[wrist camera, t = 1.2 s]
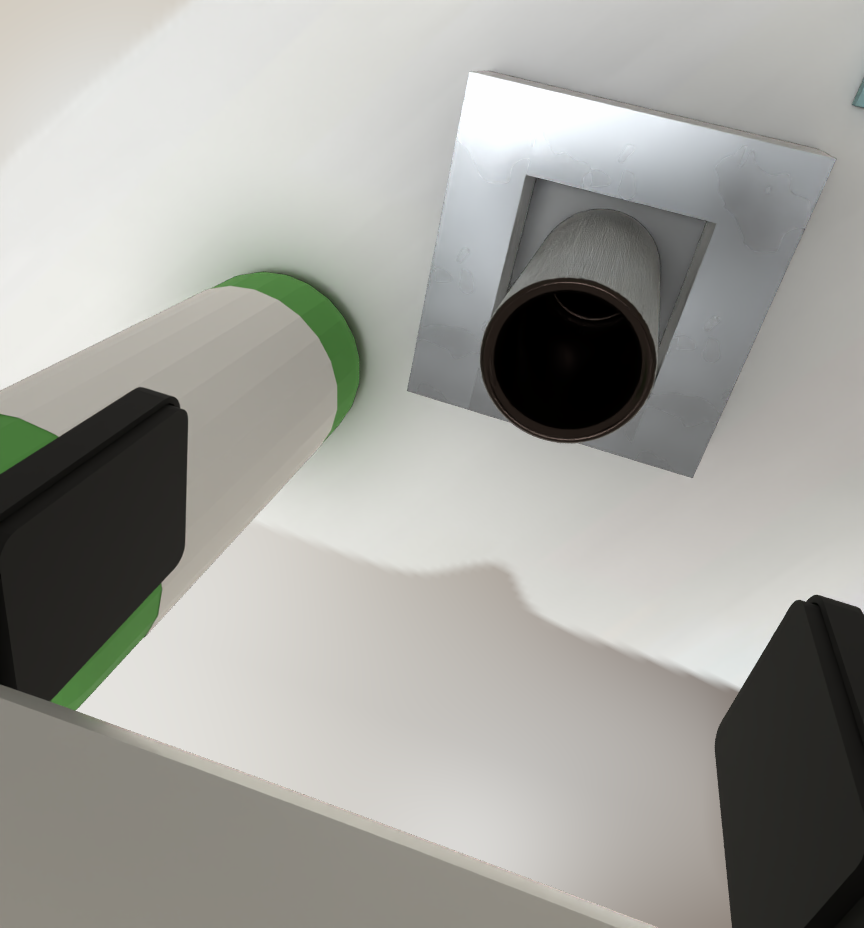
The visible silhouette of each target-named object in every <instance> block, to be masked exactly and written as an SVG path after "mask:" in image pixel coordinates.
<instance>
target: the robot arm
mask: <svg viewBox="0 0 864 928" xmlns="http://www.w3.org/2000/svg"><path fill="white" fill-rule="evenodd" d="M187 452H188V414H187V412H186V411H185V410H184V409H181V408H180V404H179V401H178V399H177V398H175V397H173V396H170V395H167V394H164V393H160V392H157V391H154V390H151V389H147V388H144V387H138V388H135V389H134V390H132V391H130V392H129V393H127V394H126V395H124V396H123V397H121V398H119V399H118V400H116V401H115V402H113V403H112V404H110V405H108V406H107V407H105V408H104V409H102V410H100V411H99V412H97V413H96V414H94V415H93V416H91V417H89V418H88V419H86V420H85V421H83V422H82V423H80V424H78V425H77V426H75V427H74V428H72V429H71V430H69V431H67V432H66V433H64V434H63V435H61V436H60V437H58V438H56V439H55V440H53V441H52V442H50V443H48V444H47V445H45V446H44V447H42V448H41V449H39V450H37V451H36V452H34V453H33V454H31V455H30V456H28V457H26V458H25V459H23V460H22V461H20V462H19V463H17V464H15V465H14V466H12V467H11V468H9V469H8V470H6V471H4V472H3V473H1V474H0V928H658V927H656V926H653V925H651V924H648V923H645V922H643V921H640V920H638V919H635V918H632V917H630V916H627V915H624V914H622V913H619V912H616V911H614V910H611V909H608V908H606V907H603V906H600V905H598V904H595V903H592V902H590V901H587V900H584V899H582V898H579V897H576V896H574V895H571V894H569V893H566V892H563V891H561V890H558V889H555V888H553V887H550V886H547V885H545V884H542V883H539V882H537V881H534V880H531V879H529V878H526V877H523V876H521V875H518V874H516V873H513V872H510V871H508V870H505V869H502V868H500V867H497V866H494V865H492V864H489V863H486V862H484V861H481V860H478V859H476V858H473V857H470V856H468V855H465V854H463V853H459V852H457V851H455V850H452V849H449V848H446V847H444V846H441V845H438V844H436V843H433V842H430V841H428V840H425V839H422V838H419V837H417V836H414V835H412V834H409V833H406V832H403V831H401V830H398V829H395V828H393V827H390V826H387V825H385V824H382V823H379V822H377V821H374V820H371V819H368V818H365V817H363V816H360V815H358V814H355V813H352V812H349V811H347V810H344V809H342V808H339V807H336V806H334V805H331V804H328V803H325V802H323V801H320V800H317V799H315V798H312V797H309V796H307V795H304V794H301V793H298V792H296V791H293V790H290V789H288V788H285V787H282V786H279V785H277V784H274V783H271V782H269V781H266V780H263V779H261V778H258V777H255V776H252V775H250V774H247V773H244V772H242V771H239V770H236V769H234V768H231V767H228V766H225V765H223V764H220V763H217V762H214V761H212V760H209V759H206V758H203V757H201V756H198V755H195V754H192V753H190V752H187V751H184V750H181V749H178V748H176V747H173V746H170V745H168V744H165V743H162V742H159V741H157V740H154V739H151V738H149V737H146V736H143V735H140V734H138V733H135V732H132V731H129V730H127V729H124V728H121V727H118V726H116V725H113V724H110V723H107V722H105V721H102V720H99V719H96V718H94V717H91V716H88V715H85V714H83V713H80V712H77V711H75V710H72V709H69V708H66V707H64V706H61V705H58V704H55V703H52V702H50V701H51V700H52V699H53V698H54V697H55V696H56V695H57V694H58V693H59V692H60V691H61V689H62V688H63V687H64V686H65V685H66V684H67V683H68V682H69V681H70V680H71V679H72V678H73V677H74V676H75V675H76V673H77V672H78V671H79V670H80V669H81V668H82V667H83V666H84V665H85V664H86V663H87V662H88V661H89V660H90V658H91V657H92V656H93V655H94V654H95V653H96V652H97V651H98V650H99V649H100V648H101V647H102V646H103V645H104V644H105V642H106V641H107V640H108V639H109V638H110V637H111V636H112V635H113V634H114V633H115V632H116V631H117V630H118V629H119V628H120V626H121V625H122V624H123V623H124V622H125V621H126V620H127V619H128V618H129V617H130V616H131V615H132V614H133V613H134V611H135V610H136V609H137V608H138V607H139V606H140V605H141V604H142V603H143V602H144V601H145V600H146V599H147V598H148V597H149V595H150V594H151V593H152V592H153V591H154V590H155V589H156V588H157V587H158V586H159V585H160V584H161V583H162V582H163V581H164V579H165V578H166V577H167V576H168V575H169V574H170V573H171V572H172V571H173V570H174V569H175V568H176V566H177V565H178V564H179V562H180V560H181V558H182V556H183V553H184V549H185V534H186V493H187ZM715 757H716V766H717V777H718V788H719V797H720V808H721V818H722V828H723V837H724V848H725V860H726V869H727V879H728V890H729V900H730V911H731V921H732V928H864V614H863V612H862V611H861V609H860V608H858V607H856V606H852V605H849V604H846V603H843V602H839V601H836V600H833V599H830V598H826V597H823V596H820V595H813V596H812V597H810V598H809V599H808V600H807V602H805V601H801V600H796V601H795V602H794V603H793V604H792V605H791V606H790V608H789V610H788V611H787V613H786V615H785V616H784V618H783V620H782V621H781V623H780V625H779V626H778V628H777V630H776V631H775V633H774V635H773V636H772V638H771V640H770V641H769V643H768V645H767V646H766V648H765V650H764V651H763V653H762V655H761V656H760V658H759V660H758V661H757V663H756V665H755V666H754V668H753V670H752V671H751V673H750V675H749V677H748V678H747V680H746V682H745V683H744V685H743V687H742V688H741V690H740V692H739V693H738V695H737V697H736V698H735V700H734V702H733V703H732V705H731V707H730V708H729V710H728V712H727V713H726V715H725V717H724V718H723V720H722V722H721V724H720V726H719V728H718V731H717V734H716V739H715Z"/></svg>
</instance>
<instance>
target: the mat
mask: <svg viewBox="0 0 864 928" xmlns="http://www.w3.org/2000/svg"><path fill="white" fill-rule="evenodd" d="M852 105H855V106H859V107H863V108H864V79H863V81H862V84H861V86H860V88H859V90H858V93H857V95H856V97H855V99H854V102H853V104H852Z"/></svg>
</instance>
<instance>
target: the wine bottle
mask: <svg viewBox="0 0 864 928" xmlns="http://www.w3.org/2000/svg"><path fill="white" fill-rule="evenodd" d="M359 362H360V360H359V356H358V351H357V347H356V343H355V339H354V336H353V334H352V333H351V331H350V329H349V327H348V325H347V323H346V321H345V319H344V317H343V316H342V315H341V313H340V312H339V311H338V310H337V309H336V307H335V306H334V305H333V304H332V303H331V301H330V300H329V299H328V298H326V297H325V296H324V295H323V294H321V293H320V292H319V291H317V290H316V289H315V288H313V287H312V286H311V285H309V284H307V283H304V282H302V281H300V280H297V279H295V278H293V277H290V276H288V275H283V274H276V273H269V272H258V273H251V274H245V275H239V276H235V277H233V278H231V279H229V280H227V281H225V282H223V283H221V284H219V285H217V286H215V287H213V288H211V289H207V290H205V291H203V292H201V293H199V294H197V295H195V296H192V297H190V298H188V299H186V300H184V301H182V302H180V303H178V304H176V305H174V306H172V307H170V308H168V309H166V310H164V311H162V312H160V313H158V314H156V315H154V316H152V317H150V318H148V319H146V320H143V321H141V322H139V323H137V324H135V325H133V326H131V327H129V328H127V329H125V330H123V331H121V332H119V333H117V334H115V335H113V336H111V337H109V338H107V339H105V340H103V341H101V342H99V343H97V344H94V345H92V346H90V347H88V348H86V349H84V350H82V351H80V352H78V353H76V354H74V355H72V356H70V357H68V358H66V359H64V360H62V361H60V362H58V363H56V364H54V365H52V366H50V367H48V368H46V369H43V370H41V371H39V372H37V373H35V374H33V375H31V376H29V377H27V378H25V379H23V380H21V381H19V382H17V383H15V384H13V385H11V386H9V387H7V388H5V389H3V390H1V391H0V474H1V473H3V472H4V471H6V470H8V469H9V468H11V467H12V466H14V465H15V464H17V463H19V462H20V461H22V460H23V459H25V458H26V457H28V456H30V455H31V454H33V453H34V452H36V451H37V450H39V449H41V448H42V447H44V446H45V445H47V444H48V443H50V442H52V441H53V440H55V439H56V438H58V437H60V436H61V435H63V434H64V433H66V432H67V431H69V430H71V429H72V428H74V427H75V426H77V425H78V424H80V423H82V422H83V421H85V420H86V419H88V418H89V417H91V416H93V415H94V414H96V413H97V412H99V411H100V410H102V409H104V408H105V407H107V406H108V405H110V404H112V403H113V402H115V401H116V400H118V399H119V398H121V397H123V396H124V395H126V394H127V393H129V392H130V391H132V390H134V389H135V388H138V387H144V388H147V389H151V390H154V391H157V392H160V393H164V394H167V395H170V396H173V397H175V398H177V399H178V401H179V404H180V408H181V409H184V410H185V411H186V412H187V414H188V452H187V493H186V534H185V549H184V553H183V556H182V558H181V560H180V562H179V564H178V565H177V566H176V568H175V569H174V570H173V571H172V572H171V573H170V574H169V575H168V576H167V577H166V578H165V579H164V581H163V582H162V583H161V584H160V585H159V586H158V587H157V588H156V589H155V590H154V591H153V592H152V593H151V594H150V595H149V597H148V598H147V599H146V600H145V601H144V602H143V603H142V604H141V605H140V606H139V607H138V608H137V609H136V610H135V611H134V613H133V614H132V615H131V616H130V617H129V618H128V619H127V620H126V621H125V622H124V623H123V624H122V625H121V626H120V628H119V629H118V630H117V631H116V632H115V633H114V634H113V635H112V636H111V637H110V638H109V639H108V640H107V641H106V642H105V644H104V645H103V646H102V647H101V648H100V649H99V650H98V651H97V652H96V653H95V654H94V655H93V656H92V657H91V658H90V660H89V661H88V662H87V663H86V664H85V665H84V666H83V667H82V668H81V669H80V670H79V671H78V672H77V673H76V675H75V676H74V677H73V678H72V679H71V680H70V681H69V682H68V683H67V684H66V685H65V686H64V687H63V688H62V689H61V691H60V692H59V693H58V694H57V695H56V696H55V697H54V698H53V699H52V700H51V701H50V702H52V703H55V704H58V705H61V706H64V707H66V708H69V709H72V710H77V709H78V708H79V707H80V705H81V704H82V703H83V702H84V701H85V700H86V699H87V698H88V697H89V696H90V695H91V694H92V693H93V692H94V691H95V690H96V688H97V687H98V686H99V685H100V684H101V683H102V682H103V681H104V680H105V679H106V678H107V677H108V675H109V674H110V673H111V672H112V671H113V670H114V669H115V668H116V667H117V665H119V664H120V662H121V661H122V660H123V659H124V658H125V657H126V656H127V655H128V654H129V653H130V652H131V650H132V649H133V648H134V647H135V646H136V645H137V644H138V643H139V642H140V641H141V640H142V638H144V637H145V636H146V635H147V634H148V633H149V632H150V631H151V630H152V629H153V628H154V627H155V626H156V625H157V623H158V622H159V621H160V620H161V619H162V618H163V617H164V616H165V615H166V614H167V612H169V610H170V609H171V608H172V607H173V606H174V605H175V604H176V603H177V602H178V600H180V598H181V597H182V596H183V595H184V594H185V593H186V592H187V591H188V590H189V589H190V588H191V586H192V585H193V584H194V583H195V582H196V581H197V580H198V579H199V577H201V576H202V575H203V573H204V572H205V571H206V570H207V569H208V568H209V567H210V566H211V565H212V564H213V563H214V561H215V560H216V559H217V558H218V557H219V556H220V555H221V554H222V553H223V552H224V550H226V548H227V547H228V546H229V545H230V544H231V543H232V542H233V541H234V540H235V539H236V538H237V536H238V535H239V534H240V533H241V532H242V531H243V530H244V529H245V528H246V527H247V526H248V525H249V523H250V522H251V521H252V520H253V519H254V518H255V517H256V516H257V515H258V514H259V513H260V511H261V510H262V509H263V508H264V507H265V506H266V505H267V504H268V503H269V502H270V501H271V500H272V498H273V497H274V496H275V495H276V494H277V493H278V492H279V491H280V490H281V489H282V488H283V486H284V485H285V484H286V483H287V482H288V481H289V480H290V479H291V478H292V477H293V476H294V474H295V473H296V472H297V471H298V470H299V469H300V468H301V467H302V466H303V465H304V464H305V463H306V461H307V460H308V459H309V458H310V457H311V456H312V455H313V454H314V453H315V452H316V451H317V449H318V448H319V447H320V446H321V444H322V443H323V442H324V441H325V440H326V439H327V438H328V436H329V435H330V434H331V433H332V432H333V431H334V430H335V429H336V428H337V427H338V426H339V424H340V423H341V421H342V420H343V418H344V417H345V415H346V414H347V412H348V411H349V409H350V408H351V406H352V404H353V402H354V398H355V395H356V392H357V388H358V385H359Z"/></svg>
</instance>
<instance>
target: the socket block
mask: <svg viewBox="0 0 864 928" xmlns="http://www.w3.org/2000/svg"><path fill="white" fill-rule="evenodd" d="M835 161H836V158H834V157H832V156H830V155H829V154H827V153H825V152H823V151H821V150H819V149H817V148H812V147H808V146H804V145H800V144H795V143H791V142H787V141H783V140H779V139H774V138H770V137H766V136H762V135H757V134H753V133H749V132H745V131H741V130H736V129H732V128H728V127H724V126H719V125H715V124H711V123H707V122H703V121H698V120H694V119H690V118H686V117H681V116H677V115H673V114H669V113H665V112H660V111H656V110H652V109H648V108H643V107H639V106H635V105H631V104H627V103H622V102H618V101H614V100H610V99H605V98H601V97H597V96H593V95H589V94H584V93H580V92H576V91H572V90H567V89H563V88H559V87H555V86H551V85H546V84H542V83H538V82H534V81H529V80H525V79H521V78H517V77H513V76H508V75H504V74H500V73H496V72H491V71H470V72H469V76H468V81H467V86H466V91H465V96H464V101H463V107H462V112H461V117H460V122H459V127H458V132H457V137H456V142H455V148H454V153H453V158H452V163H451V168H450V173H449V178H448V184H447V189H446V194H445V199H444V204H443V209H442V214H441V219H440V225H439V230H438V235H437V240H436V245H435V250H434V255H433V260H432V266H431V271H430V276H429V281H428V286H427V291H426V296H425V301H424V307H423V312H422V317H421V322H420V327H419V332H418V337H417V342H416V348H415V353H414V358H413V363H412V368H411V373H410V378H409V383H408V389H407V391H409V392H412V393H416V394H419V395H422V396H425V397H429V398H432V399H435V400H438V401H442V402H445V403H448V404H452V405H455V406H458V407H461V408H465V409H468V410H471V411H474V412H478V413H481V414H484V415H488V416H491V417H494V418H497V419H501V420H504V421H507V422H510V421H509V420H507V419H506V418H505V417H504V416H503V415H502V414H501V413H500V411H499V410H498V409H497V408H496V406H495V405H494V403H493V402H492V400H491V399H490V397H489V395H488V393H487V391H486V388H485V386H484V383H483V379H482V375H481V370H480V347H481V342H482V338H483V334H484V331H485V329H486V327H487V324H488V322H489V320H490V319H491V317H492V315H493V314H494V312H495V311H496V309H497V308H498V306H499V305H500V303H501V302H502V301H503V299H504V298H505V296H506V295H507V291H508V287H509V283H510V279H511V275H512V271H513V267H514V263H515V259H516V255H517V251H518V247H519V243H520V239H521V236H522V232H523V228H524V224H525V220H526V216H527V212H528V208H529V204H530V200H531V196H532V192H533V188H534V184H535V180H536V177H537V178H541V179H545V180H549V181H553V182H557V183H560V184H564V185H568V186H572V187H576V188H580V189H584V190H588V191H592V192H596V193H600V194H604V195H607V196H611V197H615V198H619V199H623V200H627V201H631V202H635V203H639V204H643V205H647V206H650V207H654V208H658V209H662V210H666V211H670V212H674V213H678V214H682V215H686V216H690V217H694V218H697V219H701V220H705V221H707V222H706V225H705V227H704V230H703V233H702V235H701V238H700V241H699V243H698V246H697V248H696V251H695V254H694V256H693V259H692V262H691V264H690V267H689V270H688V272H687V275H686V277H685V280H684V283H683V285H682V288H681V291H680V293H679V296H678V298H677V301H676V304H675V306H674V309H673V312H672V314H671V317H670V319H669V322H668V325H667V327H666V330H665V333H664V335H663V338H662V340H661V343H660V346H659V348H658V364H657V372H656V378H655V382H654V385H653V388H652V391H651V393H650V395H649V397H648V399H647V401H646V402H645V404H644V405H643V407H642V408H641V410H640V411H639V412H638V413H637V414H636V415H635V416H634V417H633V418H632V419H631V420H630V421H629V422H628V423H627V424H626V425H624V426H623V427H621V428H620V429H618V430H617V431H615V432H613V433H611V434H609V435H607V436H605V437H602V438H599V439H596V440H592V441H588V442H582V443H579V444H583V445H586V446H589V447H592V448H596V449H599V450H602V451H605V452H609V453H612V454H615V455H619V456H622V457H625V458H628V459H632V460H635V461H638V462H641V463H645V464H648V465H651V466H655V467H658V468H661V469H664V470H668V471H671V472H674V473H677V474H681V475H684V476H687V477H691V478H693V476H694V474H695V472H696V469H697V467H698V465H699V463H700V460H701V458H702V456H703V454H704V452H705V449H706V447H707V445H708V443H709V441H710V438H711V436H712V434H713V432H714V429H715V427H716V425H717V423H718V421H719V418H720V416H721V414H722V412H723V409H724V407H725V405H726V403H727V401H728V398H729V396H730V394H731V392H732V390H733V387H734V385H735V383H736V381H737V378H738V376H739V374H740V372H741V370H742V367H743V365H744V363H745V361H746V358H747V356H748V354H749V352H750V350H751V347H752V345H753V343H754V341H755V339H756V336H757V334H758V332H759V330H760V327H761V325H762V323H763V321H764V319H765V316H766V314H767V312H768V310H769V307H770V305H771V303H772V301H773V299H774V296H775V294H776V292H777V290H778V287H779V285H780V283H781V281H782V279H783V276H784V274H785V272H786V270H787V268H788V265H789V263H790V261H791V259H792V256H793V254H794V252H795V250H796V248H797V245H798V243H799V241H800V239H801V236H802V234H803V232H804V230H805V228H806V225H807V223H808V221H809V219H810V217H811V214H812V212H813V210H814V208H815V205H816V203H817V201H818V199H819V197H820V194H821V192H822V190H823V188H824V185H825V183H826V181H827V179H828V177H829V174H830V172H831V170H832V168H833V165H834V163H835ZM510 423H511V422H510Z"/></svg>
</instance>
